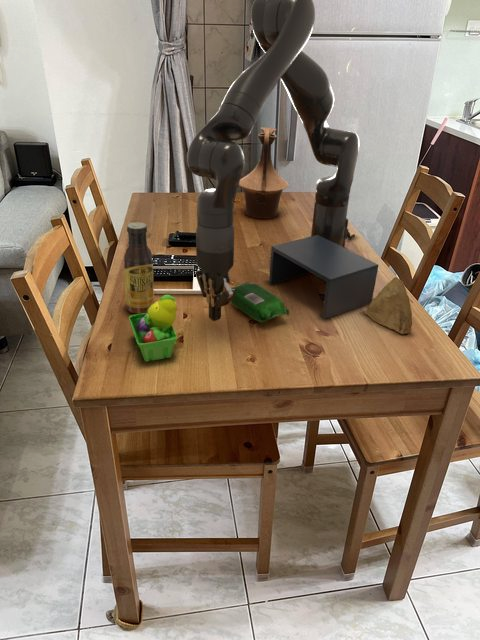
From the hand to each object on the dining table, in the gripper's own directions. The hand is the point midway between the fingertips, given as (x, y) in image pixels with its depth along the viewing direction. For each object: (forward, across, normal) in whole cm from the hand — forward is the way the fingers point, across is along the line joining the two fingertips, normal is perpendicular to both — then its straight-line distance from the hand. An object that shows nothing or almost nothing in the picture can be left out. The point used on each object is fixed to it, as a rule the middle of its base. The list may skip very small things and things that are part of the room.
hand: (214, 318), depth 110 cm
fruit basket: (+2, -1, +14) cm, 15 cm away
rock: (+2, -19, -33) cm, 39 cm away
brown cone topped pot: (+2, +54, -52) cm, 74 cm away
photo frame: (+2, +23, -4) cm, 23 cm away
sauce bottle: (+2, +15, +10) cm, 18 cm away
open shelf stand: (+2, 0, -30) cm, 30 cm away
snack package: (+2, 0, -11) cm, 11 cm away
